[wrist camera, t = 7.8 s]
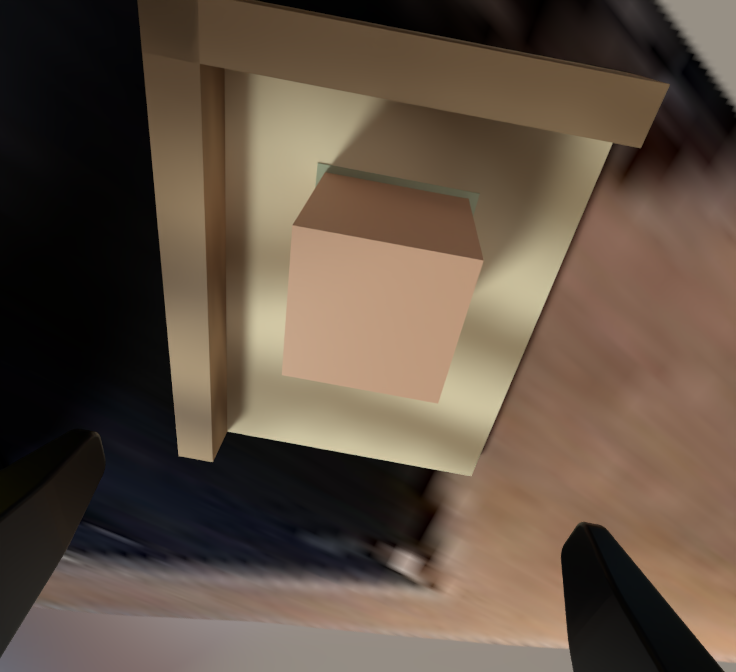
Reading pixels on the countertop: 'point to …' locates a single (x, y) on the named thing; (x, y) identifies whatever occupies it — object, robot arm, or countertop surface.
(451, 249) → the cube
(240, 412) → the arena
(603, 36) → the countertop surface
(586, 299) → the countertop surface
